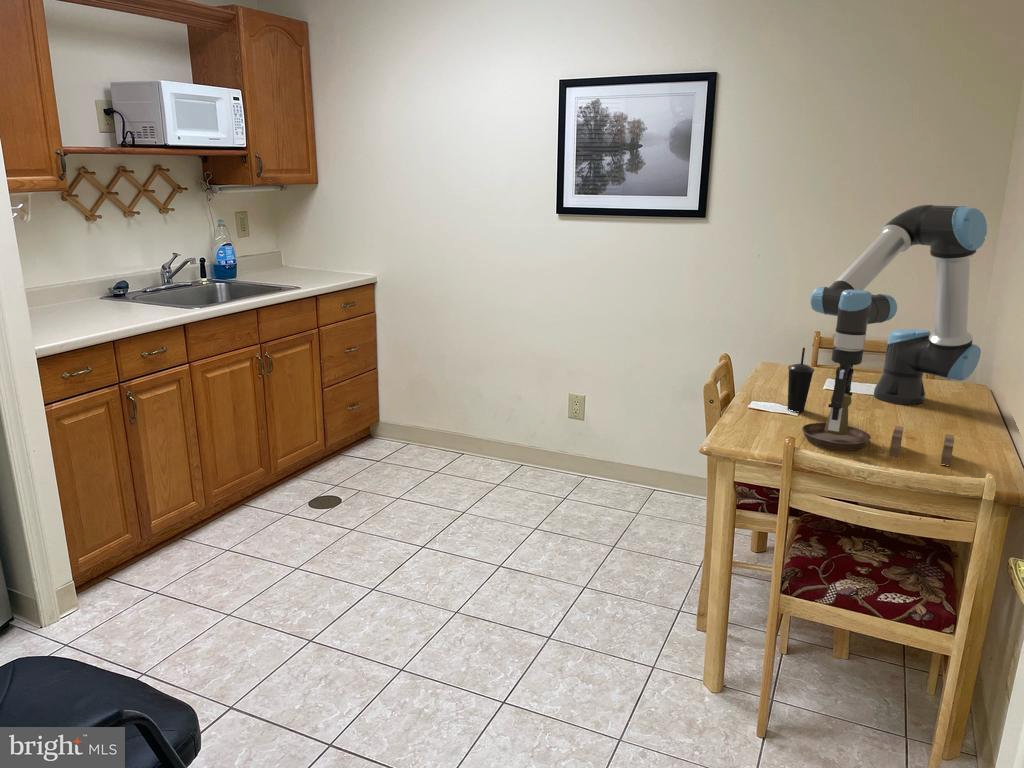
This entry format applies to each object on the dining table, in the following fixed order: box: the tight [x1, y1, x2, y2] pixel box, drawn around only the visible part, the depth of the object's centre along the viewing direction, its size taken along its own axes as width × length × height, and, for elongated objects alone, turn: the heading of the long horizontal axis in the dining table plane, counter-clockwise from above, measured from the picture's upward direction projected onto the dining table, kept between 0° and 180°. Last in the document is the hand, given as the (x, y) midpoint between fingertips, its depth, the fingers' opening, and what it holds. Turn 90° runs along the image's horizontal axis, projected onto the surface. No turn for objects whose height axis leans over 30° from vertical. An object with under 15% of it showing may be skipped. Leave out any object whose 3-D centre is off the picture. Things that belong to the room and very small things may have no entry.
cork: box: [825, 394, 852, 435], centre depth 206 cm, size 6×6×11 cm
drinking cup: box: [787, 347, 815, 413], centre depth 231 cm, size 8×8×20 cm
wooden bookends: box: [888, 425, 955, 465], centre depth 197 cm, size 10×14×6 cm
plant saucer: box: [801, 422, 872, 451], centre depth 208 cm, size 18×18×3 cm
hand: (837, 424), depth 207 cm, fingers open, 12 cm apart
